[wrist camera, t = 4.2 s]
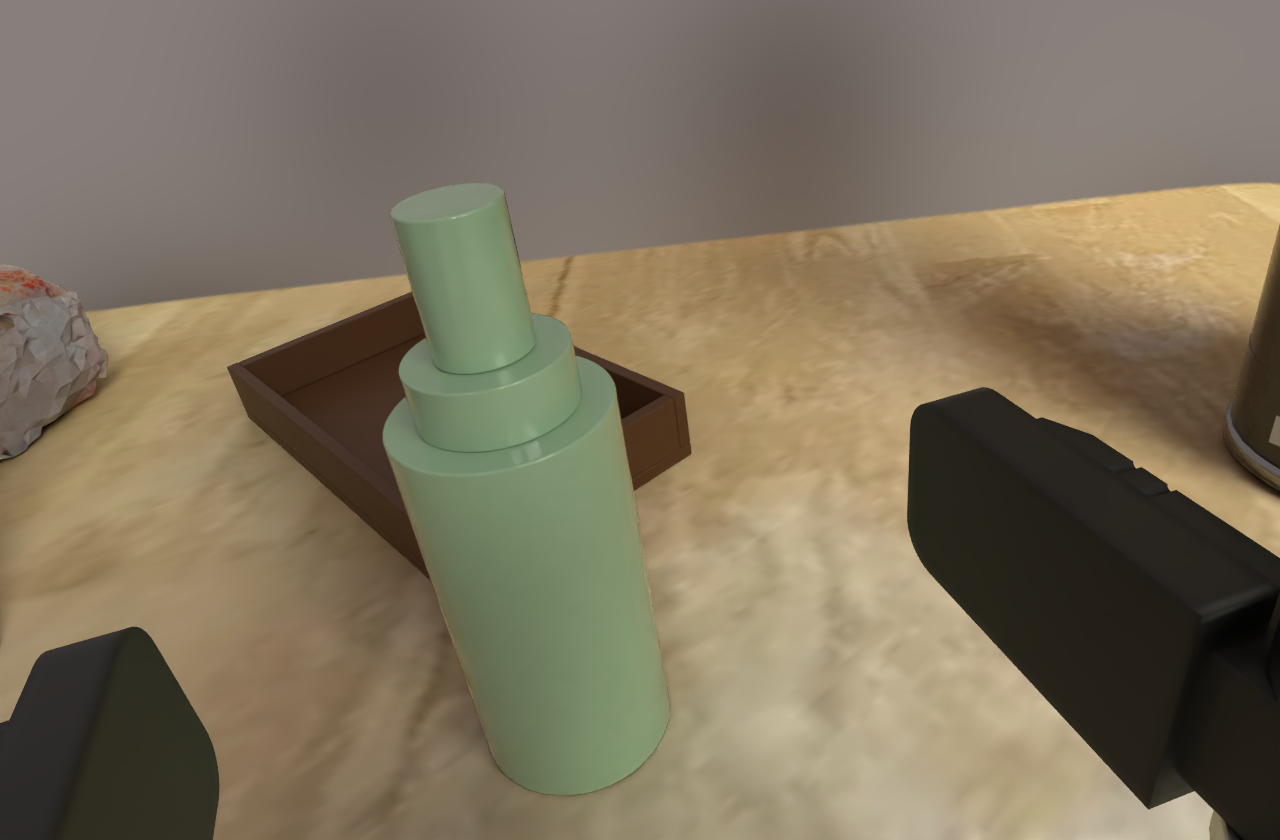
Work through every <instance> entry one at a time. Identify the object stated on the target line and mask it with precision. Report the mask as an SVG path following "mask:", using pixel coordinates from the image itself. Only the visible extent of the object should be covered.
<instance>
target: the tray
mask: <svg viewBox="0 0 1280 840" xmlns="http://www.w3.org/2000/svg"><path fill="white" fill-rule="evenodd" d="M425 338H426V337H425V334H424V330H423V327H422V324H421V320H420V317H419V313H418V310H417V307H416V303H415V300H414V296H413V293H412V292H410V293H407V294H405V295H403V296H400V297H398V298H395V299H393V300H390V301H388V302H385V303H383V304H380V305H378V306H376V307H373V308H371V309H368V310H366V311H363V312H361V313H358V314H356V315H354V316H351V317H349V318H346V319H344V320H341V321H339V322H336V323H334V324H331V325H329V326H327V327H324V328H322V329H319V330H317V331H314V332H312V333H309V334H307V335H304V336H302V337H300V338H297V339H295V340H292V341H290V342H287V343H285V344H282V345H280V346H277V347H275V348H273V349H270V350H268V351H265V352H263V353H260V354H258V355H255V356H253V357H251V358H248V359H246V360H243V361H241V362H239V363H235V364H233V365H231V366H228V367H227V369H228V371H229V373H230V375H231V378H232V380H233V382H234V385H235V387H236V389H237V391H238V394H239V396H240V398H241V401H242V403H243V405H244V407H245V408H246V412H247V414H248V416H249V418H251V419H252V420H253V421H254V422H255V423H256V424H257V425H258V426H259V427H261V428H262V429H263V430H264V431H265V432H266V433H267V434H268V435H269V436H271V437H272V438H273V439H274V440H275V441H276V442H277V443H278V444H280V445H281V446H282V447H283V448H284V449H285V450H286V451H287V452H288V453H290V454H291V455H292V456H293V457H294V458H295V459H296V460H297V461H299V462H300V463H301V464H302V465H303V466H304V467H305V468H306V469H307V470H309V471H310V472H311V473H312V474H313V475H314V476H315V477H316V478H317V479H319V480H320V481H321V482H322V483H323V484H324V485H325V486H326V487H328V488H329V489H330V490H331V491H332V492H333V493H334V494H335V495H336V496H338V497H339V498H340V499H341V500H342V501H343V502H344V503H345V504H346V505H348V506H349V507H350V508H351V509H352V510H353V511H354V512H355V513H357V514H358V515H359V516H360V517H361V518H362V519H363V520H364V521H365V522H367V523H368V524H369V525H370V526H371V527H372V528H373V529H374V530H375V531H377V532H378V533H379V534H380V535H381V536H382V537H383V538H384V539H386V540H387V541H388V542H389V543H390V544H391V545H392V546H393V547H394V548H396V549H397V550H398V551H399V552H400V553H401V554H402V555H403V556H405V557H406V558H407V559H408V560H409V561H410V562H411V563H412V564H413V565H415V566H416V567H417V568H418V569H419V570H420V571H421V572H422V573H423V574H425V575H426V576H427V577H428V578H429V579H430V577H429V574H428V571H427V568H426V565H425V562H424V560H423V557H422V554H421V551H420V548H419V545H418V542H417V539H416V537H415V534H414V531H413V528H412V525H411V522H410V519H409V517H408V514H407V511H406V508H405V505H404V502H403V499H402V496H401V494H400V491H399V488H398V485H397V482H396V479H395V476H394V474H393V471H392V468H391V465H390V462H389V459H388V456H387V454H386V451H385V448H384V444H383V429H384V425H385V422H386V420H387V418H388V416H389V415H390V413H391V412H392V410H393V409H394V408H395V407H396V405H397V404H398V403H399V402H400V401H401V400H402V399H403V398H405V397H406V396H405V393H404V390H403V387H402V384H401V381H400V378H399V371H398V370H399V365H400V362H401V360H402V358H403V357H404V356H405V354H406V353H407V352H408V351H409V350H410V349H411V348H412V347H413V346H415V345H416V344H417V343H419V342H420V341H422V340H423V339H425ZM574 351H575V355H576V356H580V357H583V358H586V359H588V360H591V361H593V362H595V363H596V364H598V365H600V366H601V367H602V368H604V369H605V370H606V371H607V372H608V373H609V375H610V376H611V377H612V379H613V381H614V383H615V387H616V391H617V397H618V403H619V409H620V415H621V420H622V426H623V432H624V438H625V444H626V449H627V455H628V461H629V467H630V473H631V478H632V484H633V490H635V489H637V488H638V487H640V486H642V485H643V484H645V483H646V482H648V481H649V480H651V479H652V478H654V477H656V476H657V475H659V474H660V473H662V472H663V471H665V470H667V469H668V468H670V467H671V466H673V465H674V464H676V463H677V462H679V461H681V460H682V459H684V458H685V457H687V456H688V455H690V454H691V446H690V443H689V442H690V438H689V430H688V422H687V414H686V406H685V398H684V393H683V392H681V391H678V390H676V389H674V388H671V387H669V386H667V385H664V384H662V383H659V382H657V381H655V380H652V379H650V378H648V377H645V376H643V375H640V374H638V373H636V372H633V371H631V370H629V369H626V368H624V367H622V366H619V365H617V364H614V363H612V362H610V361H607V360H605V359H603V358H600V357H598V356H595V355H593V354H591V353H588V352H586V351H584V350H581V349H579V348H577V347H574Z"/></svg>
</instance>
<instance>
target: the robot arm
mask: <svg viewBox="0 0 1280 840" xmlns="http://www.w3.org/2000/svg"><path fill="white" fill-rule="evenodd" d="M1223 434H1224V439H1225V442H1226V444H1227V446H1228V448H1229V449H1230V451H1231V453H1232V454H1233V455H1234V456H1235V458H1236V459H1237V460H1238V461H1239V462H1240V463H1241V464H1242V465H1243V466H1244V467H1245V468H1246V469H1247V470H1249V471H1250V472H1251V473H1252V474H1254V475H1255V476H1256V477H1258V478H1259V479H1261V480H1262V481H1264V482H1265V483H1267V484H1268V485H1270V486H1272V487H1273V488H1275V489H1277V490H1279V491H1280V225H1279V229H1278V232H1277V236H1276V240H1275V244H1274V248H1273V252H1272V255H1271V259H1270V263H1269V267H1268V271H1267V274H1266V278H1265V282H1264V286H1263V290H1262V294H1261V297H1260V301H1259V305H1258V309H1257V313H1256V316H1255V320H1254V324H1253V328H1252V332H1251V334H1250V338H1249V342H1248V345H1247V349H1246V353H1245V357H1244V361H1243V365H1242V369H1241V373H1240V377H1239V380H1238V384H1237V388H1236V392H1235V396H1234V397H1233V398H1232V400H1231V401H1230V404H1229V406H1228V409H1227V413H1226V417H1225V421H1224V426H1223ZM907 522H908V529H909V533H910V537H911V540H912V543H913V546H914V549H915V551H916V553H917V555H918V557H919V559H920V560H921V562H922V564H923V565H924V567H925V568H926V569H927V571H928V572H929V573H930V574H931V575H932V576H933V577H934V578H935V580H936V581H937V582H938V583H939V584H940V585H941V586H942V587H943V588H944V589H945V590H946V591H947V592H948V594H949V595H950V596H951V597H952V598H953V599H954V600H955V601H956V602H957V603H958V604H959V605H960V607H961V608H962V609H963V610H964V611H965V612H966V613H967V614H968V615H969V616H970V617H971V618H972V619H973V621H974V622H975V623H976V624H977V625H978V626H979V627H980V628H981V629H982V630H983V631H984V632H985V634H986V635H987V636H988V637H989V638H990V639H991V640H992V641H993V642H994V643H995V644H996V645H997V646H998V648H999V649H1000V650H1001V651H1002V652H1003V653H1004V654H1005V655H1006V656H1007V657H1008V658H1009V659H1010V661H1011V662H1012V663H1013V664H1014V665H1015V666H1016V667H1017V668H1018V669H1019V670H1020V671H1021V672H1022V674H1023V675H1024V676H1025V677H1026V678H1027V679H1028V680H1029V681H1030V682H1031V683H1032V684H1033V685H1034V686H1035V688H1036V689H1037V690H1038V691H1039V692H1040V693H1041V694H1042V695H1043V696H1044V697H1045V698H1046V699H1047V701H1048V702H1049V703H1050V704H1051V705H1052V706H1053V707H1054V708H1055V709H1056V710H1057V711H1058V712H1059V713H1060V715H1061V716H1062V717H1063V718H1064V719H1065V720H1066V721H1067V722H1068V723H1069V724H1070V725H1071V726H1072V728H1073V729H1074V730H1075V731H1076V732H1077V733H1078V734H1079V735H1080V736H1081V737H1082V738H1083V739H1084V740H1085V742H1086V743H1087V744H1088V745H1089V746H1090V747H1091V748H1092V749H1093V750H1094V751H1095V752H1096V753H1097V755H1098V756H1099V757H1100V758H1101V759H1102V760H1103V761H1104V762H1105V763H1106V764H1107V765H1108V766H1109V767H1110V769H1111V770H1112V771H1113V772H1114V773H1115V774H1116V775H1117V776H1118V777H1119V778H1120V779H1121V780H1122V782H1123V783H1124V784H1125V785H1126V786H1127V787H1128V788H1129V789H1130V790H1131V791H1132V792H1133V793H1134V795H1135V796H1136V797H1137V798H1138V799H1139V800H1140V801H1141V802H1142V803H1143V804H1144V805H1145V806H1146V807H1147V809H1151V808H1153V807H1156V806H1158V805H1161V804H1163V803H1166V802H1168V801H1171V800H1173V799H1176V798H1178V797H1181V796H1183V795H1186V794H1188V793H1191V792H1193V791H1195V792H1196V793H1197V794H1198V795H1199V796H1200V797H1201V798H1202V799H1203V800H1204V801H1205V802H1206V803H1207V804H1208V805H1209V806H1210V807H1211V808H1212V809H1213V810H1214V811H1213V814H1212V817H1211V821H1210V827H1209V831H1210V840H1280V558H1279V557H1277V556H1276V555H1274V554H1273V553H1271V552H1270V551H1268V550H1267V549H1265V548H1264V547H1262V546H1261V545H1259V544H1258V543H1256V542H1254V541H1253V540H1251V539H1250V538H1248V537H1247V536H1245V535H1244V534H1242V533H1241V532H1239V531H1238V530H1236V529H1235V528H1233V527H1232V526H1230V525H1229V524H1227V523H1226V522H1224V521H1223V520H1221V519H1220V518H1218V517H1216V516H1215V515H1213V514H1212V513H1210V512H1209V511H1207V510H1206V509H1204V508H1203V507H1201V506H1200V505H1198V504H1197V503H1195V502H1194V501H1192V500H1191V499H1189V498H1188V497H1186V496H1185V495H1183V494H1182V493H1180V492H1178V491H1177V490H1175V491H1172V492H1171V491H1170V490H1169V489H1168V487H1167V484H1166V483H1165V482H1163V481H1162V480H1160V479H1159V478H1157V477H1156V476H1154V475H1153V474H1151V473H1150V472H1148V471H1147V470H1145V469H1144V468H1142V467H1140V468H1137V469H1136V468H1135V467H1134V464H1133V461H1131V460H1130V459H1128V458H1127V457H1125V456H1124V455H1122V454H1121V453H1119V452H1118V451H1116V450H1115V449H1113V448H1112V447H1110V446H1109V445H1107V444H1106V443H1104V442H1102V441H1101V440H1099V439H1098V438H1096V437H1095V436H1093V435H1091V434H1088V433H1085V432H1082V431H1080V430H1077V429H1074V428H1071V427H1068V426H1065V425H1062V424H1060V423H1057V422H1054V421H1051V420H1048V419H1045V418H1038V419H1036V418H1034V417H1033V416H1031V415H1030V414H1028V413H1027V412H1025V411H1024V410H1023V409H1021V408H1020V407H1018V406H1017V405H1015V404H1014V403H1012V402H1011V401H1009V400H1008V399H1007V398H1005V397H1004V396H1002V395H1001V394H999V393H998V392H996V391H994V390H993V389H990V388H984V387H982V388H978V389H974V390H971V391H967V392H964V393H960V394H957V395H953V396H950V397H946V398H943V399H939V400H936V401H932V402H929V403H925V404H922V405H920V406H918V407H917V408H916V409H915V411H914V413H913V415H912V419H911V425H910V450H909V478H908V507H907ZM218 800H219V773H218V766H217V760H216V756H215V752H214V748H213V745H212V742H211V740H210V737H209V735H208V733H207V731H206V729H205V728H204V726H203V724H202V722H201V721H200V719H199V717H198V716H197V714H196V712H195V711H194V709H193V707H192V706H191V704H190V702H189V700H188V699H187V697H186V695H185V694H184V692H183V690H182V689H181V687H180V685H179V683H178V682H177V680H176V678H175V677H174V675H173V673H172V672H171V670H170V668H169V667H168V665H167V663H166V661H165V660H164V658H163V656H162V655H161V653H160V651H159V650H158V648H157V646H156V645H155V643H154V641H153V640H152V638H151V637H150V636H149V635H148V634H147V633H146V632H145V631H144V630H143V629H141V628H139V627H130V628H126V629H123V630H119V631H116V632H112V633H109V634H105V635H102V636H98V637H95V638H91V639H88V640H84V641H81V642H77V643H74V644H70V645H67V646H63V647H59V648H56V649H52V650H49V651H46V652H44V653H43V654H41V655H40V657H39V658H38V659H37V660H36V662H35V664H34V666H33V668H32V670H31V672H30V675H29V677H28V679H27V682H26V684H25V686H24V688H23V691H22V693H21V695H20V697H19V700H18V702H17V704H16V707H15V709H14V711H13V713H12V716H11V718H10V720H9V721H6V722H2V723H0V840H213V833H214V827H215V820H216V814H217V807H218Z"/></svg>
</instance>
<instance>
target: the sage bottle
mask: <svg viewBox="0 0 1280 840" xmlns="http://www.w3.org/2000/svg"><path fill="white" fill-rule="evenodd" d="M390 218H391V222H392V225H393V229H394V232H395V235H396V239H397V242H398V246H399V249H400V252H401V256H402V259H403V262H404V266H405V269H406V273H407V276H408V279H409V283H410V286H411V290H412V293H413V296H414V300H415V303H416V307H417V310H418V313H419V317H420V320H421V324H422V327H423V330H424V334H425V337H426V338H425V339H423V340H422V341H420V342H419V343H417V344H416V345H415V346H413V347H412V348H411V349H410V350H409V351H408V352H407V353H406V354H405V356H404V357H403V358H402V360H401V362H400V365H399V370H398V371H399V378H400V381H401V384H402V387H403V390H404V393H405V396H406V397H405V398H403V399H402V400H401V401H400V402H399V403H398V404H397V405H396V407H395V408H394V409H393V410H392V412H391V413H390V415H389V416H388V418H387V420H386V422H385V425H384V429H383V444H384V448H385V451H386V454H387V456H388V459H389V462H390V465H391V468H392V471H393V474H394V476H395V479H396V482H397V485H398V488H399V491H400V494H401V496H402V499H403V502H404V505H405V508H406V511H407V514H408V517H409V519H410V522H411V525H412V528H413V531H414V534H415V537H416V539H417V542H418V545H419V548H420V551H421V554H422V557H423V560H424V562H425V565H426V568H427V571H428V574H429V577H430V580H431V582H432V585H433V588H434V591H435V594H436V597H437V600H438V602H439V605H440V608H441V611H442V614H443V617H444V620H445V623H446V625H447V628H448V631H449V634H450V637H451V640H452V643H453V645H454V648H455V651H456V654H457V657H458V660H459V663H460V666H461V668H462V671H463V674H464V677H465V680H466V683H467V686H468V688H469V691H470V694H471V697H472V700H473V703H474V706H475V709H476V711H477V714H478V717H479V720H480V723H481V726H482V729H483V731H484V734H485V737H486V740H487V743H488V746H489V749H490V751H491V754H492V756H493V758H494V760H495V762H496V764H497V765H498V767H499V768H500V769H501V770H502V772H503V773H504V774H506V775H507V776H508V777H509V778H510V779H511V780H513V781H514V782H516V783H517V784H519V785H520V786H523V787H525V788H527V789H529V790H532V791H535V792H539V793H542V794H548V795H557V796H570V795H580V794H585V793H590V792H594V791H597V790H600V789H603V788H606V787H608V786H610V785H612V784H615V783H617V782H619V781H620V780H622V779H624V778H625V777H627V776H628V775H630V774H631V773H632V772H634V771H635V770H636V769H638V768H639V767H640V766H641V765H642V764H643V763H644V762H645V761H646V760H647V759H648V758H649V757H650V755H651V754H652V753H653V752H654V750H655V749H656V747H657V746H658V744H659V742H660V741H661V739H662V737H663V734H664V732H665V730H666V727H667V723H668V720H669V712H670V699H669V693H668V687H667V681H666V676H665V670H664V664H663V658H662V652H661V647H660V641H659V635H658V629H657V623H656V618H655V612H654V606H653V600H652V594H651V589H650V583H649V577H648V571H647V565H646V560H645V554H644V548H643V542H642V536H641V531H640V525H639V519H638V513H637V507H636V502H635V496H634V490H633V484H632V478H631V473H630V467H629V461H628V455H627V449H626V444H625V438H624V432H623V426H622V420H621V415H620V409H619V403H618V397H617V391H616V387H615V383H614V381H613V379H612V377H611V376H610V375H609V373H608V372H607V371H606V370H605V369H604V368H602V367H601V366H600V365H598V364H596V363H595V362H593V361H591V360H588V359H586V358H583V357H580V356H576V355H575V351H574V346H573V341H572V335H571V332H570V331H569V329H568V328H567V326H566V325H565V324H563V323H562V322H561V321H559V320H557V319H555V318H552V317H549V316H545V315H540V314H533V313H531V311H530V306H529V301H528V297H527V292H526V288H525V283H524V279H523V274H522V270H521V265H520V261H519V256H518V252H517V247H516V242H515V238H514V233H513V229H512V224H511V220H510V215H509V211H508V206H507V202H506V197H505V193H504V191H503V189H502V188H501V187H499V186H496V185H492V184H484V183H468V184H458V185H451V186H446V187H441V188H437V189H432V190H429V191H426V192H422V193H419V194H417V195H414V196H412V197H409V198H407V199H405V200H404V201H402V202H400V203H398V204H397V205H395V206H394V207H393V208H392V210H391V212H390Z"/></svg>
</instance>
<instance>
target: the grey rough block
mask: <svg viewBox="0 0 1280 840" xmlns="http://www.w3.org/2000/svg"><path fill="white" fill-rule="evenodd" d="M107 365H108V354H107V352H106V351H105V350H103V349H101V347H100V346H99V344H98V337H97V336H96V335H95V334H94V332H93V330H92V328H91V326H90V322H89V319H88V318H87V316H86V314H85V313H84V308H83V306H82V304H81V301H80V299H79V297H77V296H76V293H75V292H69V291H68V290H67V289H65V288H64V287H62V286H60V285H53V284H52V283H51V282H49V281H45V280H41V279H39V276H35V275H34V274H32V273H31V272H29V271H28V270H25V269H22V268H20V267H16V266H11V265H3V264H0V459H5V458H12V457H14V456H16V455H18V454H21V453H22V452H24V451H25V450H27V448H28V445H29V444H30V443H32V442H33V441H34V440H35V439H37V438H38V437H39V436H40V435H41V429H42V427H43V426H45V425H47V424H49V423H51V422H53V421H55V420H56V419H57V418H59V417H60V416H61V415H63V414H64V413H66V412H67V411H69V410H70V409H71V408H73V407H74V406H76V405H77V404H78V403H80V402H81V401H83V400H84V399H86V398H88V397H90V396H91V395H93V394H94V392H95V389H96V382H97V379H99V378H106V368H107Z"/></svg>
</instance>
